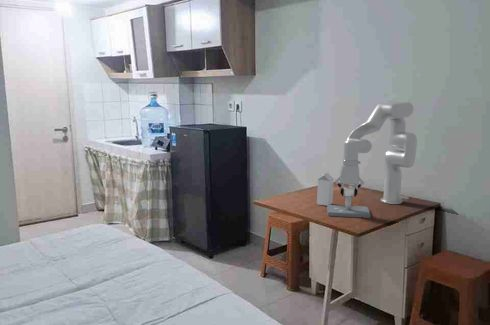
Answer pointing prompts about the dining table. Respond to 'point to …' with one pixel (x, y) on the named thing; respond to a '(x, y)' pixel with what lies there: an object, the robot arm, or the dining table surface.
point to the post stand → (348, 210)
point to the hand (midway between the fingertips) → (348, 195)
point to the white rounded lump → (348, 191)
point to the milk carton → (325, 190)
